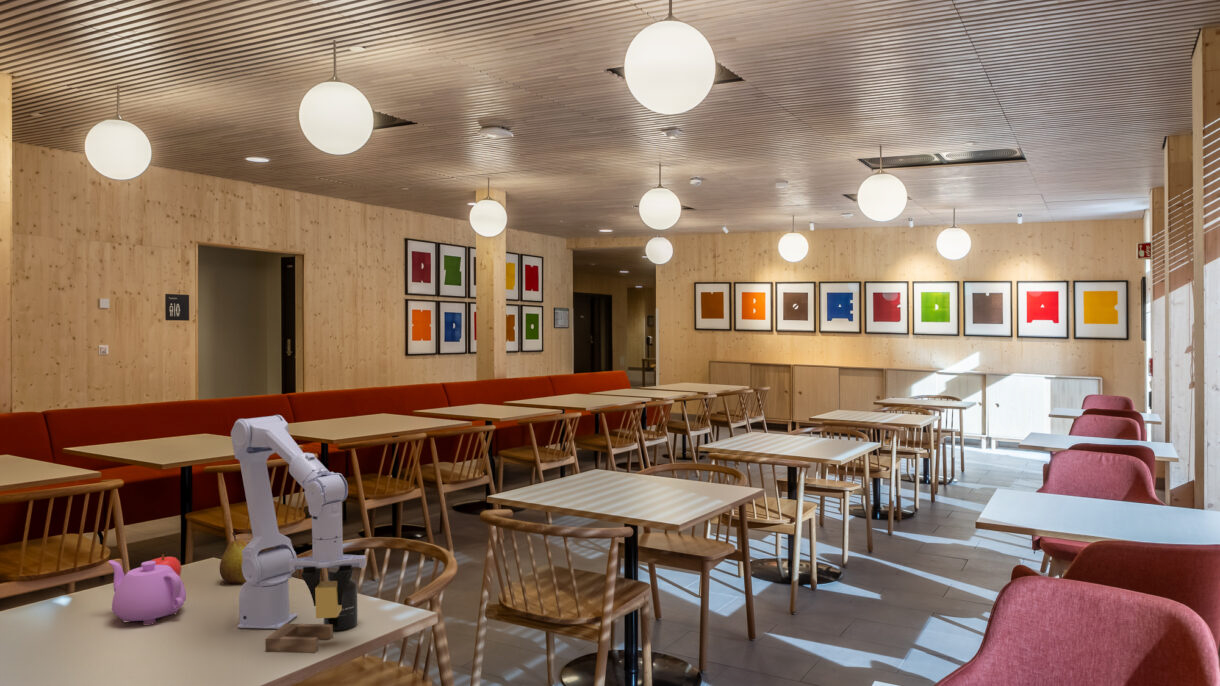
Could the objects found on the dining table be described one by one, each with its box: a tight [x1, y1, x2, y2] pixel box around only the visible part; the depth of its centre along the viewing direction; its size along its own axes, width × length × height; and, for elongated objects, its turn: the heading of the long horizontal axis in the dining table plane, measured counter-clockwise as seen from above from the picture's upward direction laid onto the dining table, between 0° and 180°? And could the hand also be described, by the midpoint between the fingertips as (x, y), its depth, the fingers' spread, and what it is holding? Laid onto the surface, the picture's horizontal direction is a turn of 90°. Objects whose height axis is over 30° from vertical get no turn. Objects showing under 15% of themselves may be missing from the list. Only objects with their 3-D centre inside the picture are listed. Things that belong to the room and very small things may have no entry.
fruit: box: [219, 532, 248, 585], centre depth 202 cm, size 9×9×12 cm
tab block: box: [315, 580, 342, 619], centre depth 161 cm, size 4×4×6 cm
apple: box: [151, 553, 182, 578], centre depth 199 cm, size 8×8×8 cm
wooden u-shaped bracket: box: [264, 623, 334, 654], centre depth 161 cm, size 10×8×2 cm
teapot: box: [108, 559, 187, 625], centre depth 178 cm, size 20×14×12 cm
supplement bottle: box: [323, 568, 359, 632], centre depth 170 cm, size 7×7×12 cm
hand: (329, 603), depth 161 cm, fingers closed on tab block, 4 cm apart
